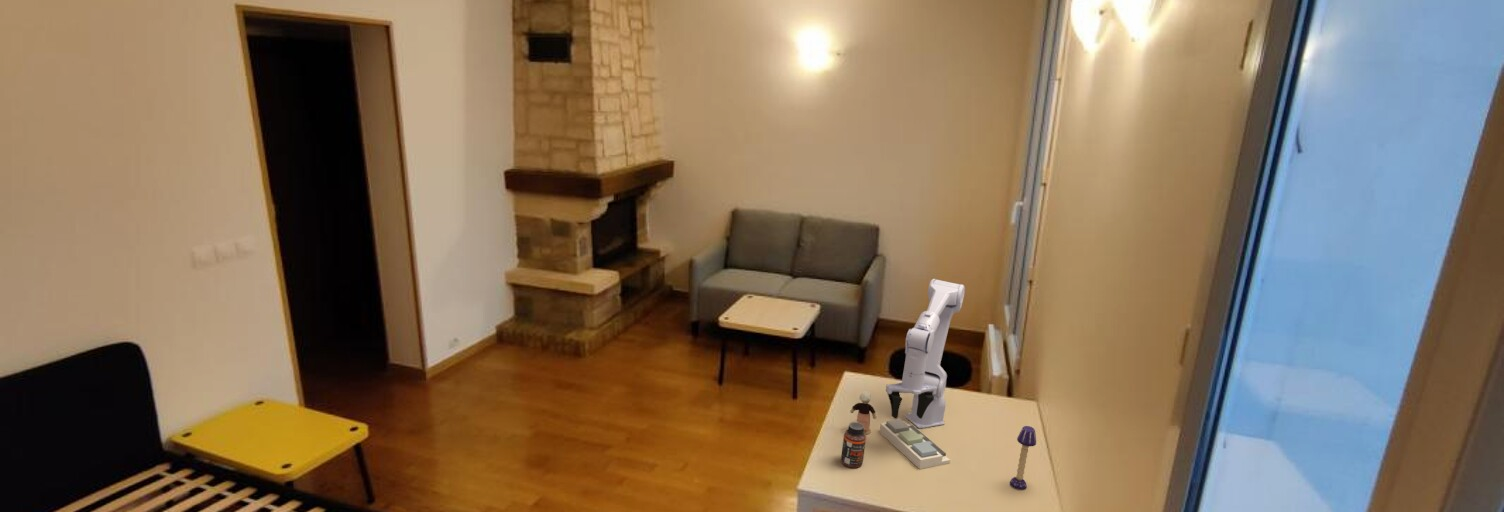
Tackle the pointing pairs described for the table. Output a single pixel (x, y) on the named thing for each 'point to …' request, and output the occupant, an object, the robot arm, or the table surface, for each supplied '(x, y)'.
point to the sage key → (910, 437)
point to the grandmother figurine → (864, 411)
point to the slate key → (924, 449)
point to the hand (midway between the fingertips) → (906, 416)
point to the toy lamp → (1023, 455)
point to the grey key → (897, 426)
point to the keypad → (910, 453)
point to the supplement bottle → (853, 445)
